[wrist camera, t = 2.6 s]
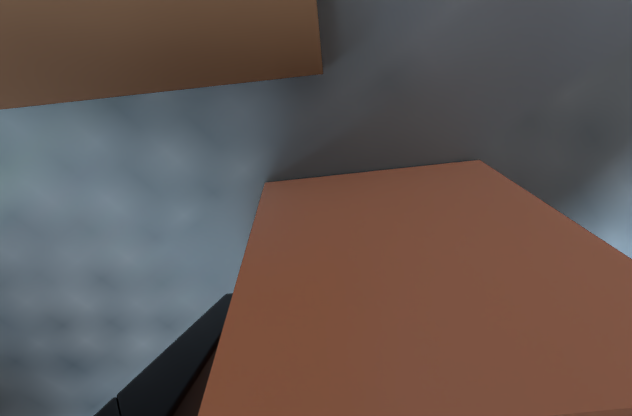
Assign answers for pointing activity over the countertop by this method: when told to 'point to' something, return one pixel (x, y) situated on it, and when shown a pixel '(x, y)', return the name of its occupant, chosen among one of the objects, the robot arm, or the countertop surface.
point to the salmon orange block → (422, 303)
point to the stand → (149, 46)
